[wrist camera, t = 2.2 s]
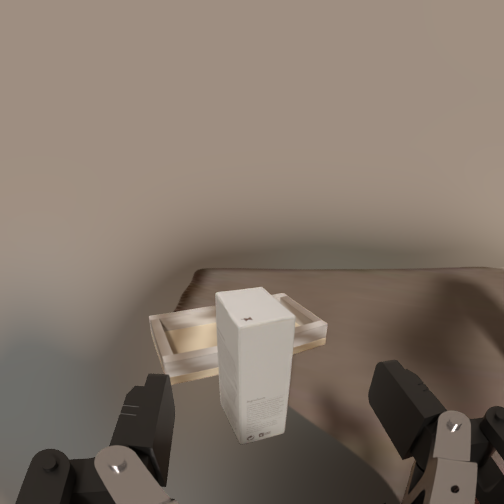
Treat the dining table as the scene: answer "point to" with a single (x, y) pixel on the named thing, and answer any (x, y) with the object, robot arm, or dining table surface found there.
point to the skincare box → (254, 361)
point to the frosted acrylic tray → (205, 339)
